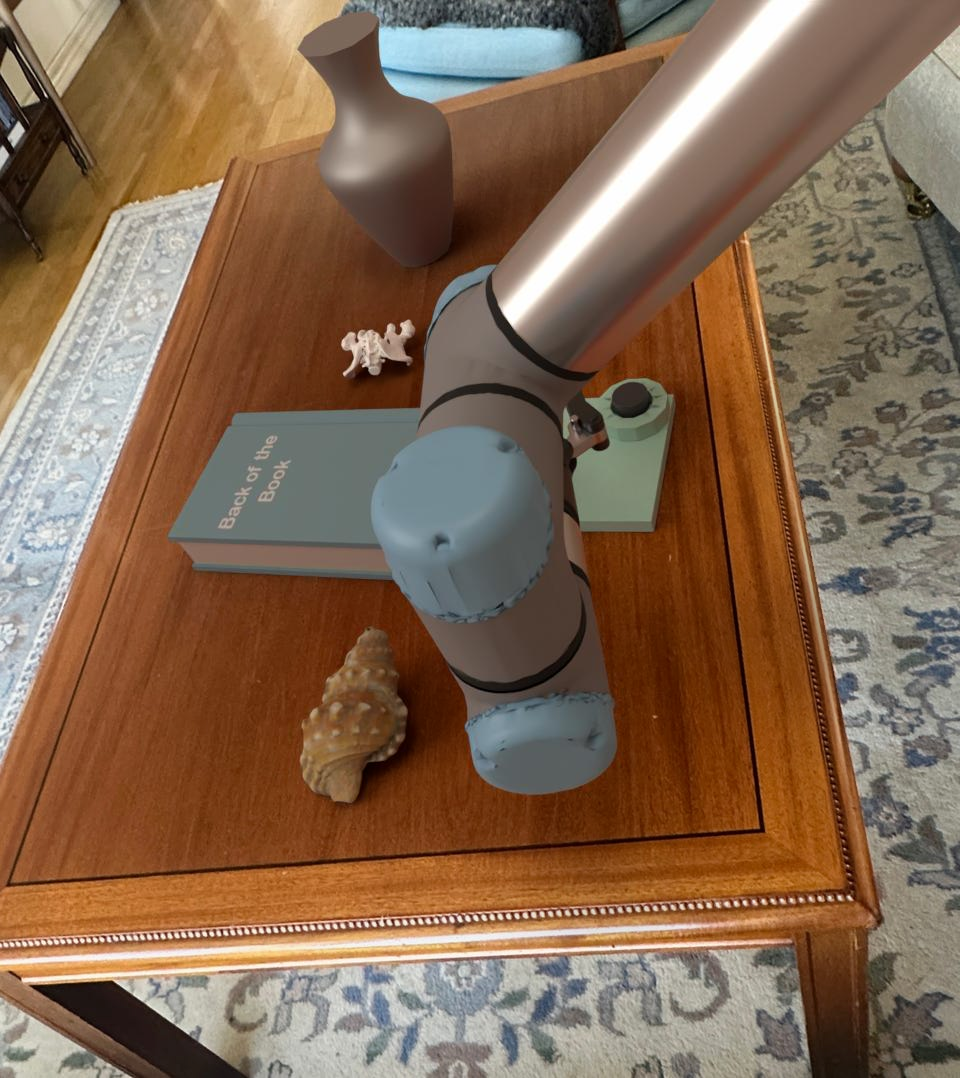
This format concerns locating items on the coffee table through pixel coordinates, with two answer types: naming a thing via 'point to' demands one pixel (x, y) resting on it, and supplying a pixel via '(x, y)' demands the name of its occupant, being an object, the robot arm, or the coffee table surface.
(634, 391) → the button
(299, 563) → the book
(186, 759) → the coffee table surface
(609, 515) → the scale
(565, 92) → the coffee table surface
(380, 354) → the pelvis model
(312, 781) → the seashell
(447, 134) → the vase
